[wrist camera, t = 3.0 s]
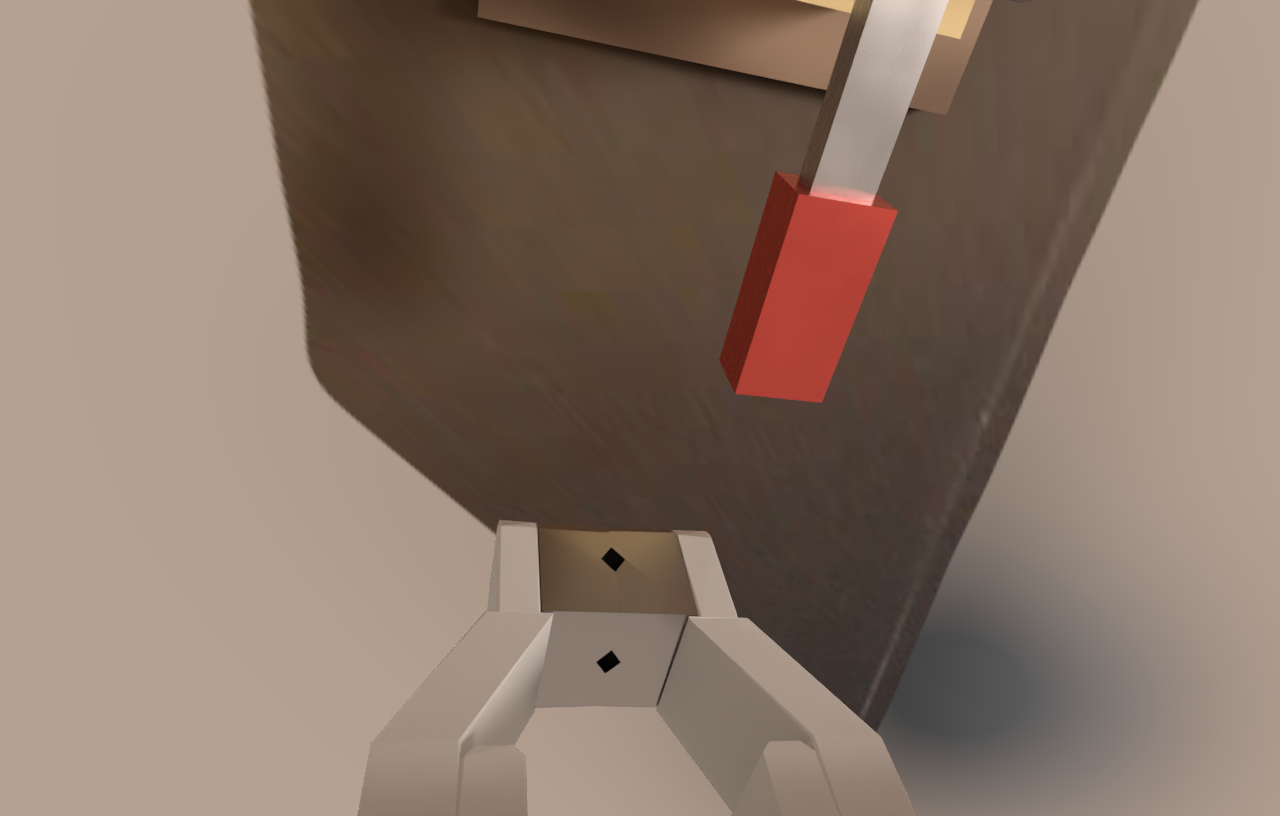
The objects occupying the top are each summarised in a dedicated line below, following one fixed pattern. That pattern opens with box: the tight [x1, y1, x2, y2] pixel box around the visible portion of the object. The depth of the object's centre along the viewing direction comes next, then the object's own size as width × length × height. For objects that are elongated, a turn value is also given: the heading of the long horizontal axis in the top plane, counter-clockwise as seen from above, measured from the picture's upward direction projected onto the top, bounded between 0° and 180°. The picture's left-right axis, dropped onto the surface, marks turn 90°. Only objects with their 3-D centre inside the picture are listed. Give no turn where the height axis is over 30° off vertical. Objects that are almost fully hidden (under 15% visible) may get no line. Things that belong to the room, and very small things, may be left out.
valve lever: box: [720, 0, 949, 403], centre depth 18 cm, size 16×3×2 cm, turn 168°
